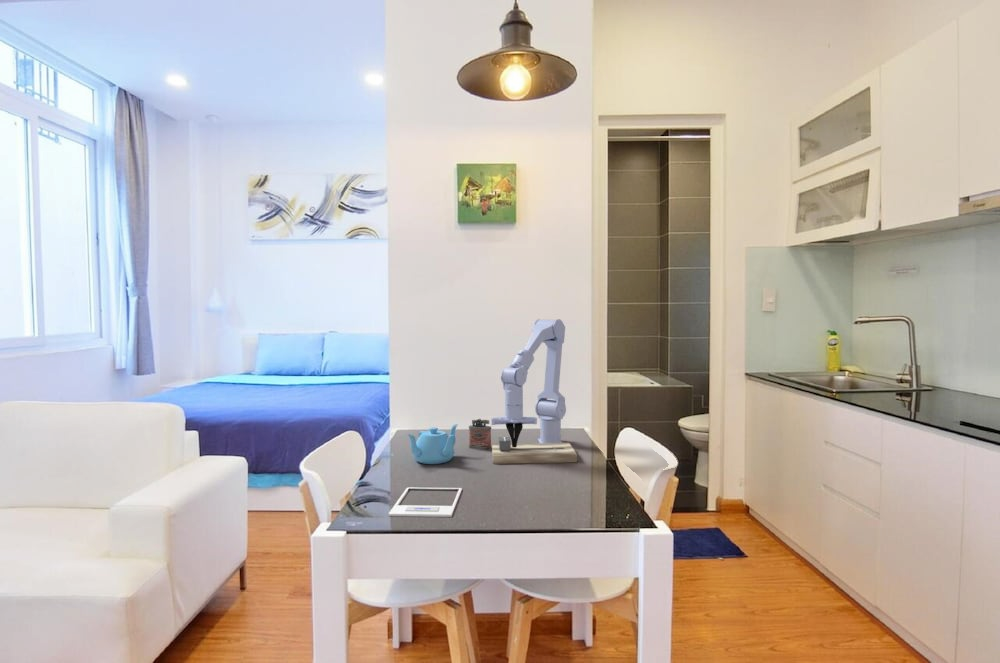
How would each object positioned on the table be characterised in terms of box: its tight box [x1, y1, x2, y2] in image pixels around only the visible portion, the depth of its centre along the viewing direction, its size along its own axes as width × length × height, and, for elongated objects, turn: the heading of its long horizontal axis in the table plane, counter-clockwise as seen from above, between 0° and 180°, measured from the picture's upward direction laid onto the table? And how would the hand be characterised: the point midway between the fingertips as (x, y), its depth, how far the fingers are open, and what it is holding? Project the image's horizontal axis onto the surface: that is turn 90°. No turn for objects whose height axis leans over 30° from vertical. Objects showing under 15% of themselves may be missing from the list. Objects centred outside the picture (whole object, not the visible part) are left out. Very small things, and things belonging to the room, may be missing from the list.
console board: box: [491, 442, 578, 465], centre depth 165 cm, size 14×26×3 cm, turn 92°
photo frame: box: [387, 486, 463, 518], centre depth 126 cm, size 15×1×18 cm
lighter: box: [468, 418, 492, 451], centre depth 177 cm, size 8×3×10 cm, turn 73°
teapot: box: [406, 423, 459, 465], centre depth 163 cm, size 15×15×10 cm
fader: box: [498, 436, 512, 450], centre depth 165 cm, size 5×4×3 cm
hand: (514, 446), depth 165 cm, fingers closed
